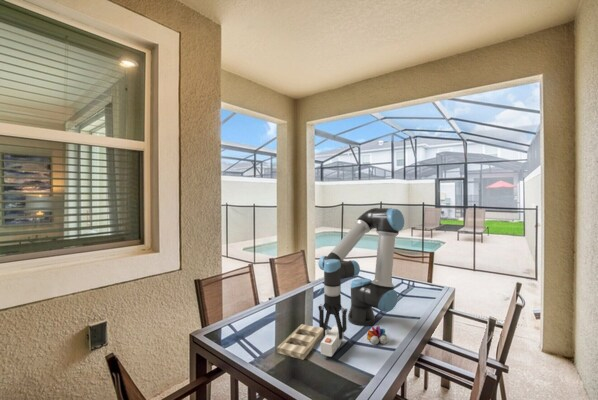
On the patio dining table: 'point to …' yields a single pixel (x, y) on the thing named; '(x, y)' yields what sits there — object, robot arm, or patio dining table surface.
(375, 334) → the rainbow stacked discs
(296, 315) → the patio dining table surface
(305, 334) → the square hole board
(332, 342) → the power strip
